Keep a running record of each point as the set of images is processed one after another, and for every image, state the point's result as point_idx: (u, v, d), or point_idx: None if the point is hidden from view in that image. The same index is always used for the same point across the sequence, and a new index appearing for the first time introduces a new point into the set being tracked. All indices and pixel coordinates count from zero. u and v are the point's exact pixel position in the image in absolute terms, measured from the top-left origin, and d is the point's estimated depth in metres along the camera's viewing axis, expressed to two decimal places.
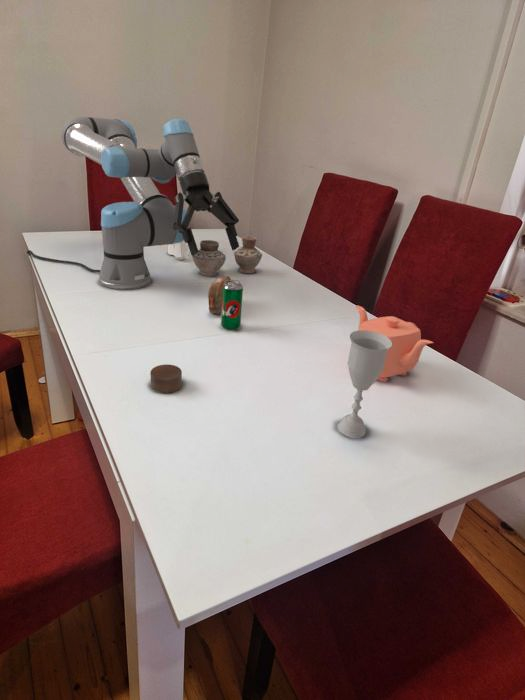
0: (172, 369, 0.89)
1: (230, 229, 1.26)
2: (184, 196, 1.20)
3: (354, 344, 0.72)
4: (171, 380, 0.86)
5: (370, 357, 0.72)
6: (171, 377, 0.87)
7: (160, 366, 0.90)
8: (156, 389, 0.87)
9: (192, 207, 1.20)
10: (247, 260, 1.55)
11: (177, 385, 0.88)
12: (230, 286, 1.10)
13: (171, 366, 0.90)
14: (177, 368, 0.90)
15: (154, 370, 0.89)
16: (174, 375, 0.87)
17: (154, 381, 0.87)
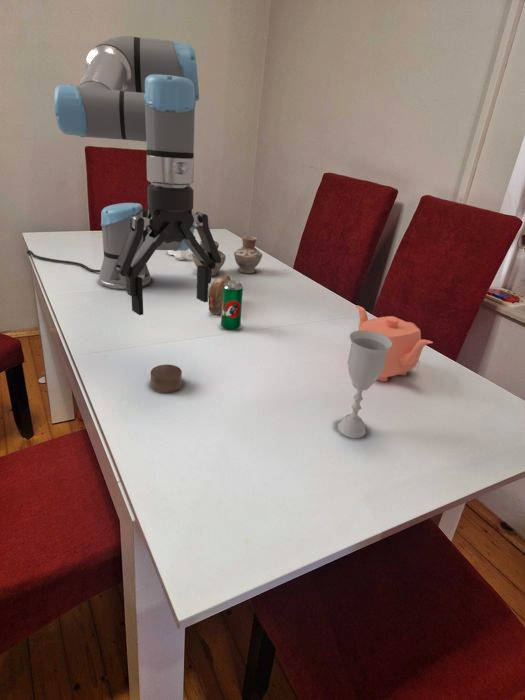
0: (172, 369, 0.89)
1: (203, 274, 0.85)
2: (147, 221, 0.74)
3: (354, 344, 0.72)
4: (171, 380, 0.86)
5: (370, 357, 0.72)
6: (171, 377, 0.87)
7: (160, 366, 0.90)
8: (156, 389, 0.87)
9: (154, 243, 0.75)
10: (247, 260, 1.55)
11: (177, 385, 0.88)
12: (230, 286, 1.10)
13: (171, 366, 0.90)
14: (177, 368, 0.90)
15: (154, 370, 0.89)
16: (174, 375, 0.87)
17: (154, 381, 0.87)
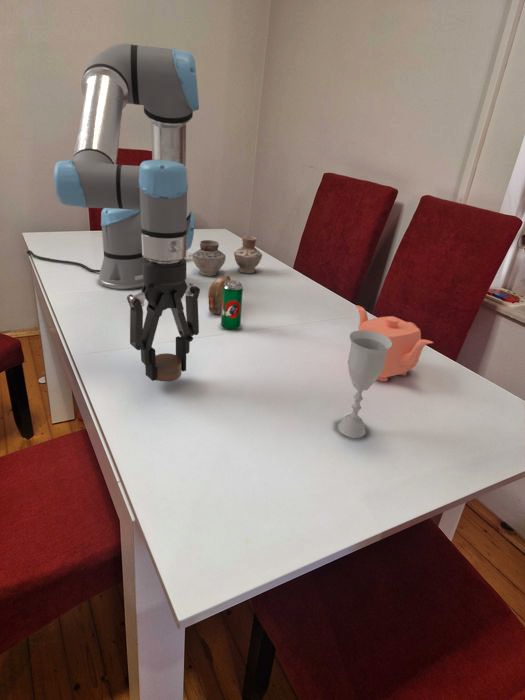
0: (172, 358, 0.89)
1: (181, 346, 0.88)
2: (142, 297, 0.78)
3: (354, 344, 0.72)
4: (170, 369, 0.86)
5: (370, 357, 0.72)
6: (171, 366, 0.86)
7: (160, 355, 0.89)
8: (156, 378, 0.86)
9: (155, 316, 0.80)
10: (247, 260, 1.55)
11: (177, 374, 0.87)
12: (230, 286, 1.10)
13: (171, 355, 0.90)
14: (177, 357, 0.89)
15: None
16: (174, 364, 0.87)
17: None
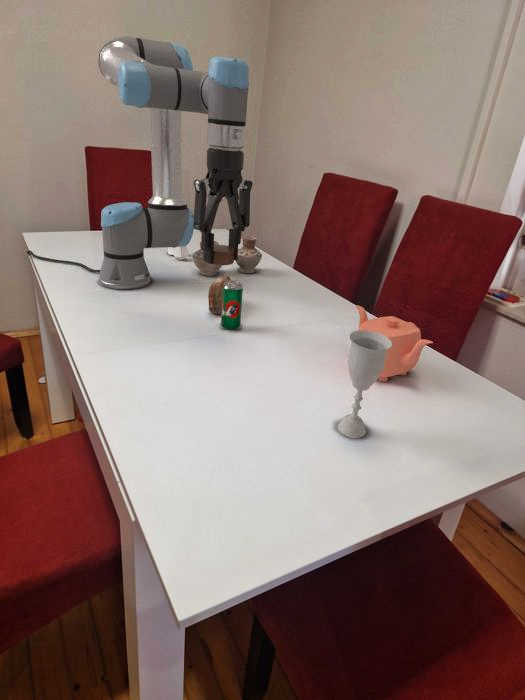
0: (226, 247, 1.02)
1: (234, 236, 1.01)
2: (206, 181, 0.91)
3: (354, 344, 0.72)
4: (226, 253, 0.98)
5: (370, 357, 0.72)
6: (226, 251, 0.99)
7: (215, 245, 1.02)
8: (213, 262, 0.99)
9: (216, 201, 0.93)
10: (247, 260, 1.55)
11: (230, 259, 1.00)
12: (230, 286, 1.10)
13: (224, 246, 1.03)
14: (230, 247, 1.02)
15: None
16: (228, 250, 1.00)
17: None
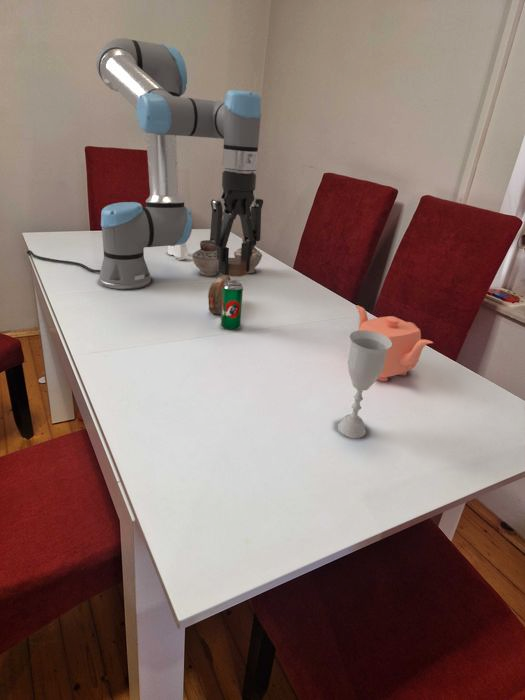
0: (239, 260, 1.10)
1: (247, 249, 1.09)
2: (222, 201, 1.00)
3: (354, 344, 0.72)
4: (239, 265, 1.07)
5: (370, 357, 0.72)
6: (239, 263, 1.07)
7: (228, 258, 1.11)
8: None
9: (231, 218, 1.02)
10: None
11: (243, 271, 1.09)
12: (230, 286, 1.10)
13: (237, 258, 1.11)
14: (242, 259, 1.11)
15: None
16: (241, 262, 1.08)
17: None
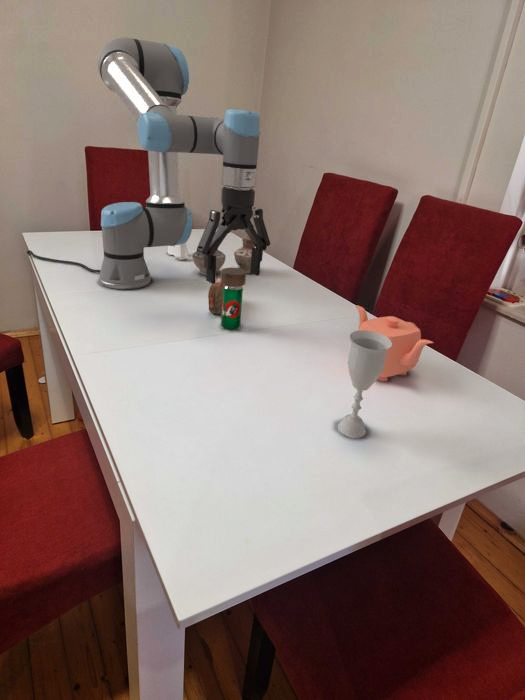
0: (238, 270, 1.11)
1: (257, 254, 1.12)
2: (221, 214, 1.01)
3: (354, 344, 0.72)
4: (239, 276, 1.08)
5: (370, 357, 0.72)
6: (239, 274, 1.09)
7: (228, 268, 1.12)
8: (227, 284, 1.09)
9: (226, 230, 1.03)
10: (247, 260, 1.55)
11: (243, 281, 1.10)
12: (230, 286, 1.10)
13: (237, 268, 1.12)
14: (242, 269, 1.12)
15: (224, 270, 1.11)
16: (240, 273, 1.10)
17: (225, 277, 1.09)
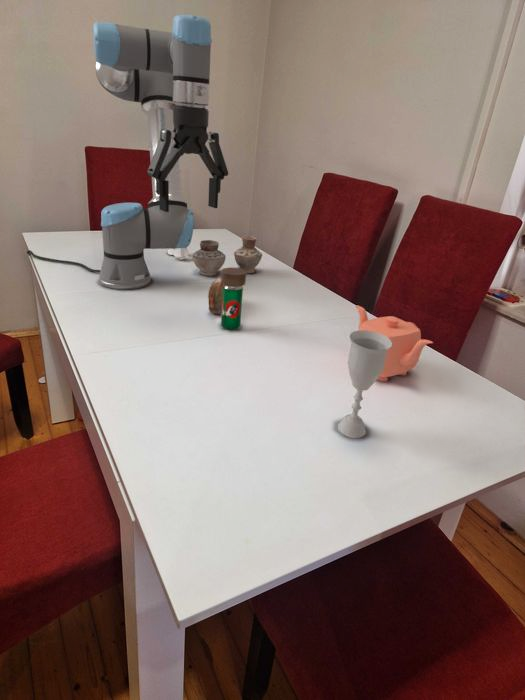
0: (238, 270, 1.11)
1: (214, 184, 1.07)
2: (173, 134, 0.95)
3: (354, 344, 0.72)
4: (239, 276, 1.08)
5: (370, 357, 0.72)
6: (239, 274, 1.09)
7: (228, 268, 1.12)
8: (227, 284, 1.09)
9: (178, 153, 0.97)
10: (247, 260, 1.55)
11: (243, 281, 1.10)
12: (230, 286, 1.10)
13: (237, 268, 1.12)
14: (242, 269, 1.12)
15: (224, 270, 1.11)
16: (240, 273, 1.10)
17: (225, 277, 1.09)
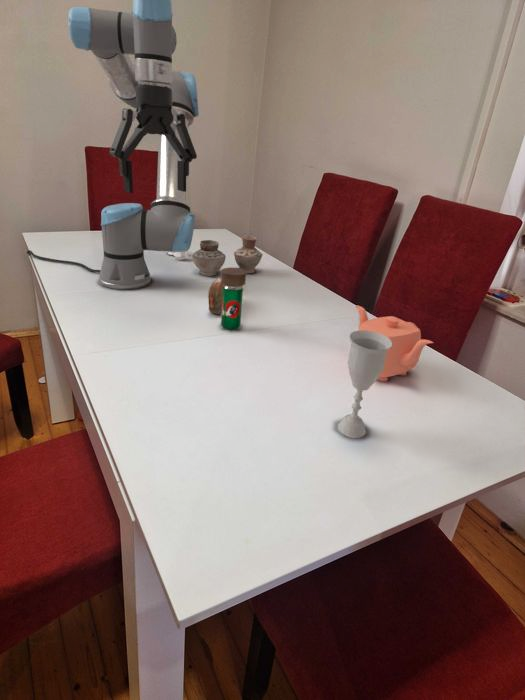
0: (238, 270, 1.11)
1: (182, 167, 1.05)
2: (135, 113, 0.94)
3: (354, 344, 0.72)
4: (239, 276, 1.08)
5: (370, 357, 0.72)
6: (239, 274, 1.09)
7: (228, 268, 1.12)
8: (227, 284, 1.09)
9: (141, 132, 0.95)
10: (247, 260, 1.55)
11: (243, 281, 1.10)
12: (230, 286, 1.10)
13: (237, 268, 1.12)
14: (242, 269, 1.12)
15: (224, 270, 1.11)
16: (240, 273, 1.10)
17: (225, 277, 1.09)
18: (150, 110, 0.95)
